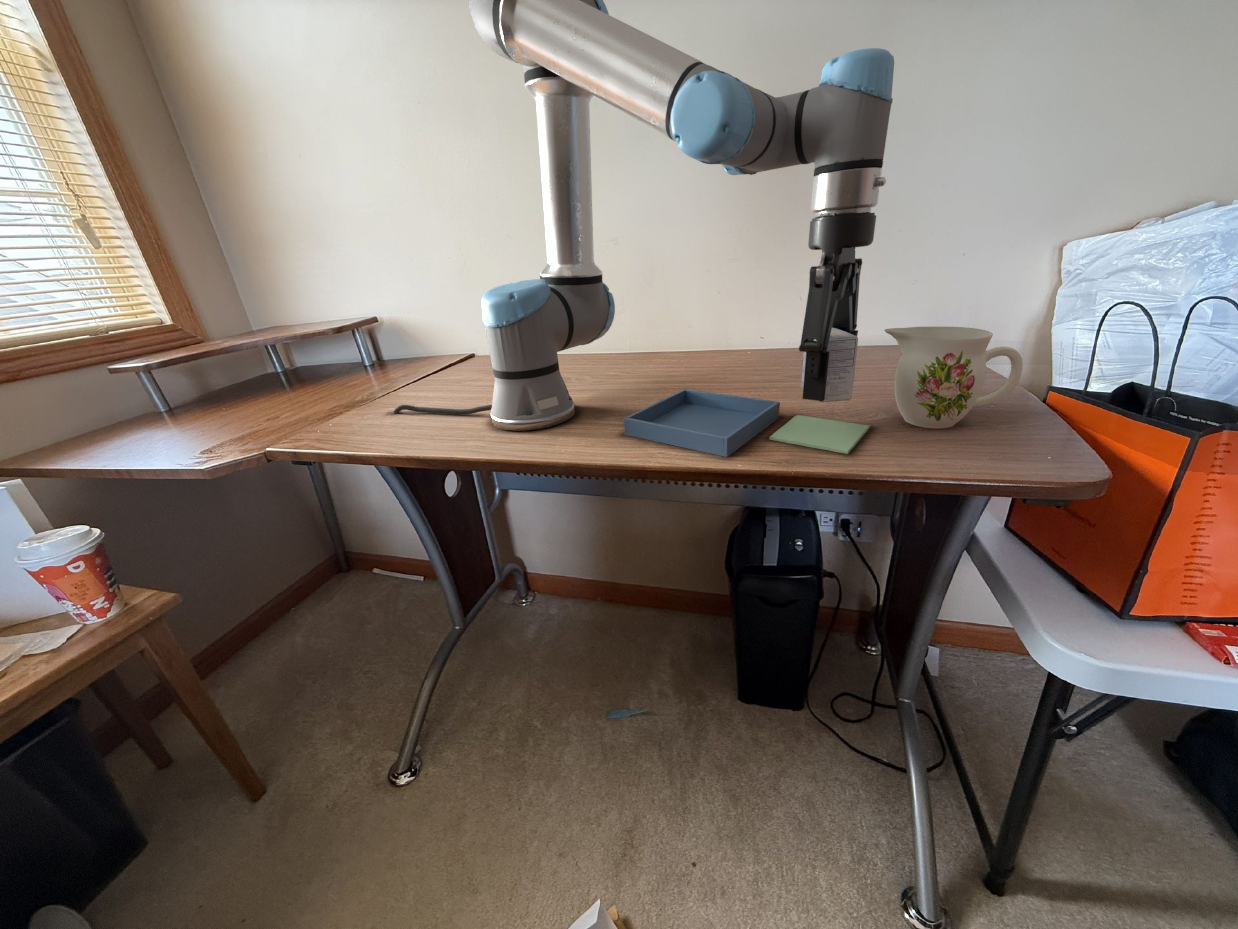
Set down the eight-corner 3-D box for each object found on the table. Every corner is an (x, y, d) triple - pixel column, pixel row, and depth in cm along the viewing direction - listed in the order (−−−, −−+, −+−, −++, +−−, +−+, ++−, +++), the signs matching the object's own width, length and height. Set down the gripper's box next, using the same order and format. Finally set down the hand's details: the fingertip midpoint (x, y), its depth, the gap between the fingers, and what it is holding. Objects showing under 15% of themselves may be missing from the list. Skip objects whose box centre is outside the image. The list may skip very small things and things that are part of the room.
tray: (624, 434, 77) (623, 418, 76) (684, 403, 90) (684, 388, 88) (727, 457, 66) (727, 438, 65) (778, 417, 79) (780, 401, 78)
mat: (769, 439, 71) (769, 436, 70) (796, 417, 78) (796, 414, 78) (847, 454, 64) (848, 450, 64) (869, 428, 72) (869, 425, 71)
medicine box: (852, 401, 65) (860, 336, 61) (818, 403, 65) (825, 339, 61) (829, 385, 72) (835, 326, 68) (799, 387, 72) (804, 329, 69)
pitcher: (1023, 436, 65) (1054, 333, 59) (877, 432, 70) (892, 337, 64) (991, 410, 75) (1015, 319, 69) (864, 408, 80) (877, 323, 74)
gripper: (849, 209, 49) (827, 416, 59) (896, 209, 64) (872, 375, 73) (779, 217, 54) (768, 408, 63) (838, 215, 69) (822, 370, 78)
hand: (824, 390), depth 68 cm, fingers closed on medicine box, 9 cm apart
